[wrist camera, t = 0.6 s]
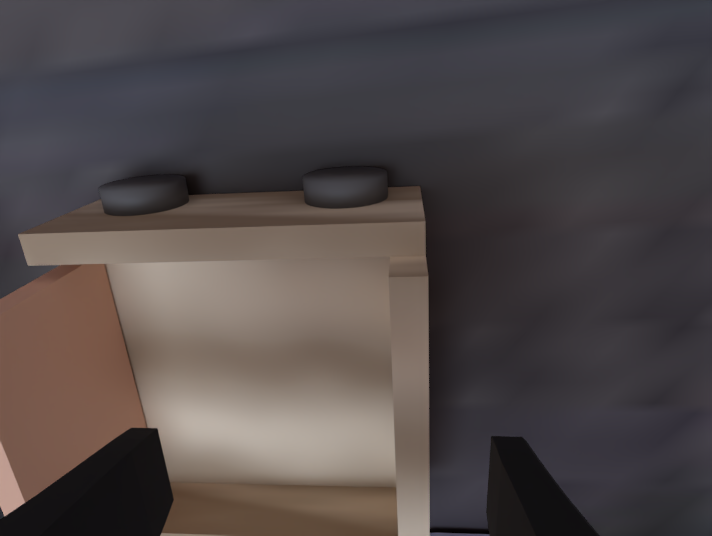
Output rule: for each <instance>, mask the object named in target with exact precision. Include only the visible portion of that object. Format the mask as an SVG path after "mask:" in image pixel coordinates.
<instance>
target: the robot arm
mask: <svg viewBox="0 0 712 536" xmlns="http://www.w3.org/2000/svg"><path fill="white" fill-rule="evenodd" d="M173 501H174V498H173V493H172V489H171V485H170V480H169V476H168V472H167V467H166V463H165V459H164V454H163V450H162V446H161V441H160V437H159V433H158V429H157V428H130V429H128V430H127V431H125V432H124V433H122V434H121V435H119V436H118V437H116V438H115V439H114V440H112V441H111V442H109V443H108V444H106V445H105V446H104V447H102V448H101V449H99V450H98V451H97V452H95V453H94V454H93V455H91V456H90V457H88V458H87V459H86V460H84V461H83V462H82V463H80V464H79V465H77V466H76V467H75V468H73V469H72V470H71V471H69V472H68V473H66V474H65V475H64V476H62V477H61V478H59V479H58V480H57V481H55V482H54V483H52V484H51V485H50V486H48V487H47V488H45V489H44V490H43V491H41V492H40V493H39V494H37V495H36V496H34V497H33V498H31V499H30V500H28V501H27V502H25V503H24V504H22V505H21V506H19V507H18V508H16V509H15V510H13V511H12V512H11V513H9V514H8V515H6V516H5V517H3V518H2V519H0V536H160V535H161V533H162V530H163V528H164V525H165V523H166V520H167V517H168V514H169V512H170V509H171V506H172V503H173ZM486 513H487V520H488V528H489V534H466V533H430V536H599V535H598V534H597V532H596V531H595V530H594V529H593V528H592V526H591V525H590V524H589V523H588V522H587V520H586V519H585V518H584V517H583V516H582V514H581V513H580V512H579V511H578V509H577V508H576V507H575V506H574V505H573V503H572V502H571V501H570V500H569V498H568V497H567V496H566V495H565V493H564V492H563V491H562V489H561V488H560V487H559V485H558V484H557V483H556V482H555V480H554V479H553V478H552V476H551V475H550V474H549V472H548V471H547V470H546V468H545V467H544V465H543V464H542V463H541V461H540V460H539V459H538V457H537V456H536V454H535V453H534V451H533V450H532V449H531V447H530V446H529V444H528V443H527V442H526V441H525V440H524V439H523V438H522V437H500V436H491V450H490V465H489V480H488V495H487V510H486Z"/></svg>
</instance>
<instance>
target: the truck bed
mask: <svg viewBox="0 0 712 536" xmlns="http://www.w3.org/2000/svg"><path fill="white" fill-rule="evenodd" d="M302 179H303V190H304V191H280V192H255V193H229V194H203V195H188V190H187V184H186V179H185V177H184V176H181V175H150V176H141V177H134V178H128V179H122V180H118V181H113V182H110V183H107V184H104V185H102V186H100V187H99V188H98V190H99V194H100V198H101V199H100V200H98V201H96V202H93V203H91V204H88V205H86V206H84V207H81V208H79V209H77V210H74V211H72V212H70V213H67V214H65V215H63V216H60V217H58V218H55V219H53V220H51V221H48V222H46V223H44V224H41V225H39V226H37V227H34V228H32V229H29V230H27V231H25V232H22V233H20V234H18V236H19V239H20V242H21V245H22V248H23V251H24V254H25V258H26V261H27V264H28V266H35V265H75V264H104V266H105V270H106V274H107V277H108V281H109V285H110V289H111V293H112V297H113V300H114V304H115V308H116V312H117V316H118V320H119V323H120V327H121V331H122V335H123V339H124V343H125V346H126V350H127V354H128V358H129V362H130V366H131V369H132V373H133V377H134V381H135V385H136V389H137V392H138V396H139V400H140V404H141V408H142V412H143V415H144V419H145V423H146V427H147V428H157V429H158V433H159V437H160V441H161V446H162V450H163V454H164V459H165V463H166V467H167V472H168V476H169V480H170V485H171V489H172V493H173V498H174V501H173V503H172V506H171V509H170V512H169V514H168V517H167V520H166V523H165V525H164V528H163V530H162V533H161V535H160V536H430V487H429V297H428V269H427V262H426V221H425V215H424V209H423V202H422V196H421V189H420V186H409V187H388V180H387V171H386V170H385V169H382V168H377V167H365V166H351V167H336V168H328V169H322V170H317V171H313V172H310V173H307V174H305V175H303V177H302Z"/></svg>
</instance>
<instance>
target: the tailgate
mask: <svg viewBox="0 0 712 536" xmlns="http://www.w3.org/2000/svg"><path fill="white" fill-rule="evenodd" d="M130 428H147V427H146V423H145V419H144V415H143V412H142V408H141V404H140V400H139V396H138V392H137V389H136V385H135V381H134V377H133V373H132V369H131V366H130V362H129V358H128V354H127V350H126V346H125V343H124V339H123V335H122V331H121V327H120V323H119V320H118V316H117V312H116V308H115V304H114V300H113V297H112V293H111V289H110V285H109V281H108V277H107V274H106V270H105V266H104V264H75V265H60V266H58V267H56V268H55V269H53V270H51V271H49V272H48V273H46V274H44V275H42V276H41V277H39V278H37V279H35V280H33V281H32V282H30V283H28V284H26V285H25V286H23V287H21V288H19V289H18V290H16V291H14V292H12V293H11V294H9V295H7V296H5V297H3V298H2V299H0V507H1V509H2V511H3V514H4V516H6V515H8V514H9V513H11V512H12V511H13V510H15V509H16V508H18V507H19V506H21V505H22V504H24V503H25V502H27V501H28V500H30V499H31V498H33V497H34V496H36V495H37V494H39V493H40V492H41V491H43V490H44V489H45V488H47V487H48V486H50V485H51V484H52V483H54V482H55V481H57V480H58V479H59V478H61V477H62V476H64V475H65V474H66V473H68V472H69V471H71V470H72V469H73V468H75V467H76V466H77V465H79V464H80V463H82V462H83V461H84V460H86V459H87V458H88V457H90V456H91V455H93V454H94V453H95V452H97V451H98V450H99V449H101V448H102V447H104V446H105V445H106V444H108V443H109V442H111V441H112V440H114V439H115V438H116V437H118V436H119V435H121V434H122V433H124V432H125V431H127V430H128V429H130Z"/></svg>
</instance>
